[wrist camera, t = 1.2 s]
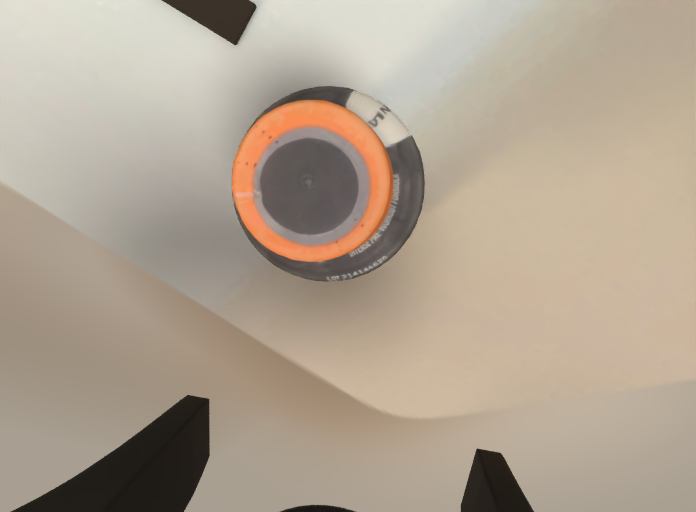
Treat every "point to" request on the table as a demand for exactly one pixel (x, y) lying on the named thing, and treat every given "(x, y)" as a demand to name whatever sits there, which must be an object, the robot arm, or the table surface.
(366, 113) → the pill bottle
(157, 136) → the table surface
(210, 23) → the strip
